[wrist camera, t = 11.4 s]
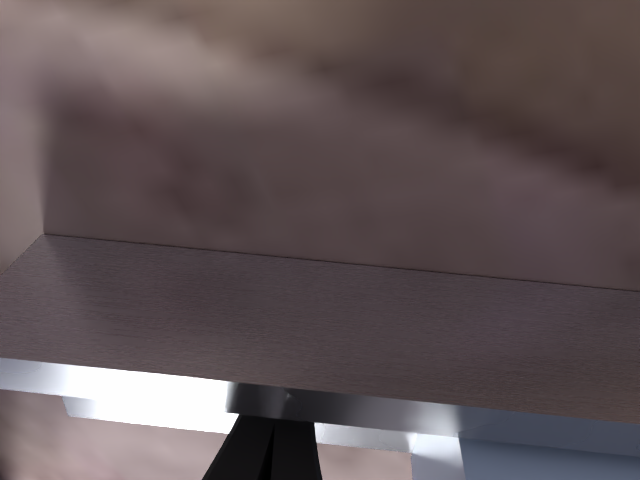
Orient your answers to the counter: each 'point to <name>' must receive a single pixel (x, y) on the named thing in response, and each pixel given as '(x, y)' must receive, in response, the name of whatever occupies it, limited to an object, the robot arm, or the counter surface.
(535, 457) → the block
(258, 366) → the rail
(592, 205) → the counter surface
